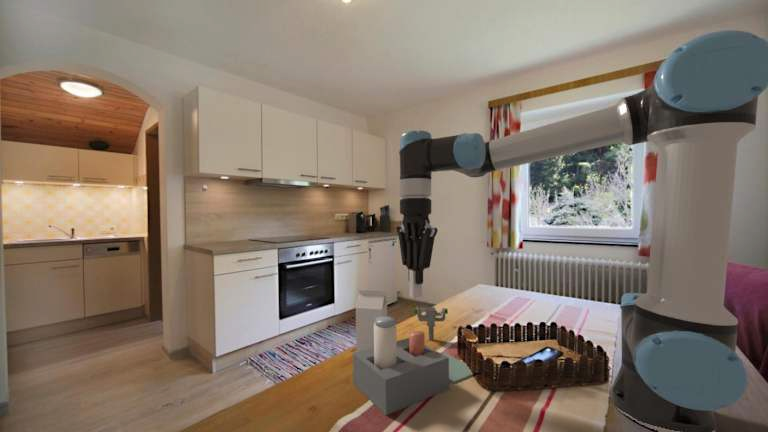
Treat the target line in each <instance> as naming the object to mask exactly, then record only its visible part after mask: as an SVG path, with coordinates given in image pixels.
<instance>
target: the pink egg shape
mask: <svg viewBox="0 0 768 432" xmlns="http://www.w3.org/2000/svg"><path fill="white" fill-rule="evenodd" d="M408 333H409V334H408V335H409V337H408V338H409V353H410V354H412V355H413V356H415V357H416V356H419V355H423V354H425V345H426V344H425V343H426V342H425V332H424V331H421V330H412V331H409V332H408Z"/></svg>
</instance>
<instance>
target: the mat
mask: <svg viewBox="0 0 768 432" xmlns="http://www.w3.org/2000/svg"><path fill="white" fill-rule="evenodd" d="M442 354H443V355H445V356H447V357H449V382H451V383H453V384H456V383H458V382H461V381H463V380H465V379H468V378H470V377H472V376H474V375H473V373H472V372H471V370H470V369H469V367H468V366H467V363H465V362H463V361H462V360H460V359H458V358H456V357H454V356H452V355H450V354H449V353H446V352H445V353H442Z"/></svg>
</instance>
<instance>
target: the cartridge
mask: <svg viewBox="0 0 768 432" xmlns="http://www.w3.org/2000/svg"><path fill="white" fill-rule="evenodd" d="M396 341H397V322H396V319H395V318H394V317H391V316H388V315H387V316H384V317H378V318H376V319H375V323H374V365H375V366H376V367H377V368H379V369H380V370H383V369H386V368H389V367H392V366H395V365H397V344H396Z"/></svg>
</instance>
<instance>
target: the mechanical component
mask: <svg viewBox="0 0 768 432" xmlns="http://www.w3.org/2000/svg"><path fill="white" fill-rule="evenodd" d="M413 313H414V315H417V318H418V321H420V322H426V323H427V324H426V326H427V327H428V341H430V342H431V341H432V342H433V341H434V339H435V337H434V335H435V334H434V332H435V331H434V329H435V328H434V327H436V322H445V320H446V314H447V315H448V308H446V307H441V310H440V311H437V309H436V307H435V306H416V308H414V312H413ZM422 313H424V314H422ZM438 316H439V317H438Z"/></svg>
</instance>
